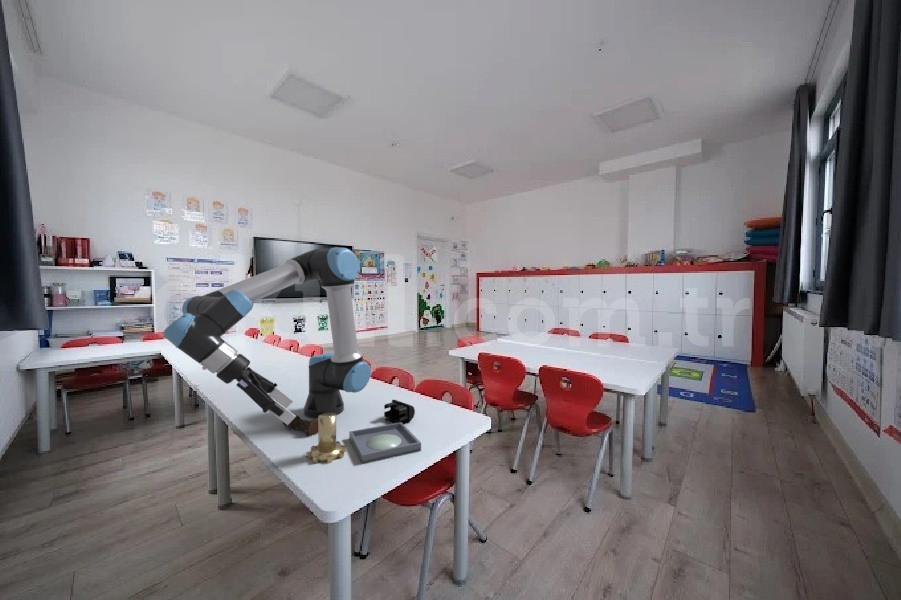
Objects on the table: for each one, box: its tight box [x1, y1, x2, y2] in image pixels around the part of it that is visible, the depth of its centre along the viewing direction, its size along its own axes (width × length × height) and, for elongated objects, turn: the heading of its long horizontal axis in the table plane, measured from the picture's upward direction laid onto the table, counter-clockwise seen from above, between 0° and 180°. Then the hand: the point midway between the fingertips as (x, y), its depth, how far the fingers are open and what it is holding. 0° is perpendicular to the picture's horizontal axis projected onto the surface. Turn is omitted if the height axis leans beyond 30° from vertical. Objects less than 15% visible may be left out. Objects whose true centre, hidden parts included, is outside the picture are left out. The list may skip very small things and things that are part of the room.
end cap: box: [383, 399, 416, 426], centre depth 126 cm, size 10×7×7 cm
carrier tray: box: [348, 422, 422, 465], centre depth 106 cm, size 18×18×2 cm
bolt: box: [281, 414, 318, 437], centre depth 116 cm, size 6×5×15 cm
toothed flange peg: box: [306, 413, 347, 464], centre depth 99 cm, size 11×11×12 cm
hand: (290, 412), depth 94 cm, fingers open, 13 cm apart
